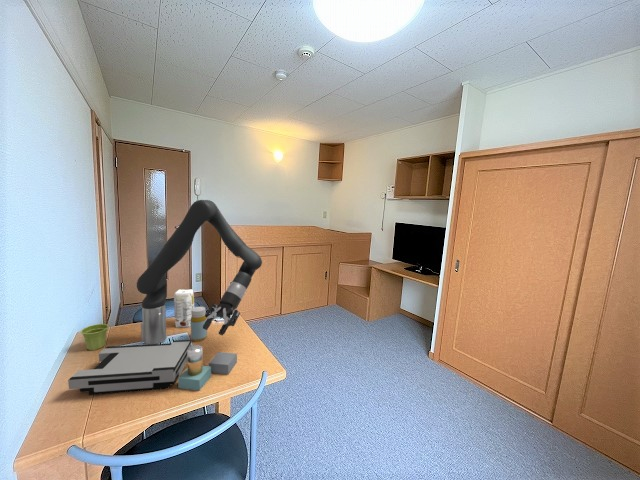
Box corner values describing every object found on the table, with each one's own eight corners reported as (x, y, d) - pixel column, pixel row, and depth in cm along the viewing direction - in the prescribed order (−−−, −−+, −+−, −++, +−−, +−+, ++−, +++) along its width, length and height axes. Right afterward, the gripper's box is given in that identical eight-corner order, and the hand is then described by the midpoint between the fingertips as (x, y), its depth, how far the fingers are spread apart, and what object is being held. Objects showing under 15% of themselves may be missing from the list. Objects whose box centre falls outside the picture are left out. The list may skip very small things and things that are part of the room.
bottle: (209, 337, 130) (209, 308, 128) (196, 343, 124) (196, 313, 122) (201, 333, 134) (200, 305, 132) (188, 339, 128) (187, 309, 126)
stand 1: (178, 388, 94) (178, 377, 94) (191, 374, 102) (191, 364, 102) (199, 390, 94) (199, 380, 93) (211, 376, 102) (211, 366, 101)
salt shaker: (184, 375, 95) (184, 351, 94) (192, 366, 100) (192, 344, 99) (198, 376, 95) (198, 353, 94) (205, 368, 100) (205, 345, 99)
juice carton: (191, 327, 139) (190, 293, 137) (173, 328, 138) (172, 293, 136) (195, 321, 147) (194, 288, 144) (179, 322, 145) (178, 288, 143)
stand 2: (208, 372, 104) (208, 362, 103) (218, 360, 112) (218, 351, 111) (228, 374, 103) (228, 364, 102) (236, 362, 111) (236, 353, 110)
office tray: (108, 362, 108) (106, 343, 107) (191, 357, 114) (191, 339, 113) (69, 399, 88) (67, 376, 87) (174, 391, 93) (173, 369, 92)
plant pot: (111, 339, 125) (109, 322, 124) (108, 349, 117) (107, 330, 116) (84, 344, 120) (83, 326, 119) (80, 354, 112) (78, 335, 111)
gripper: (216, 287, 112) (193, 323, 104) (242, 294, 106) (220, 332, 97) (226, 296, 118) (205, 331, 109) (251, 302, 112) (231, 340, 103)
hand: (212, 331), depth 103 cm, fingers open, 8 cm apart
